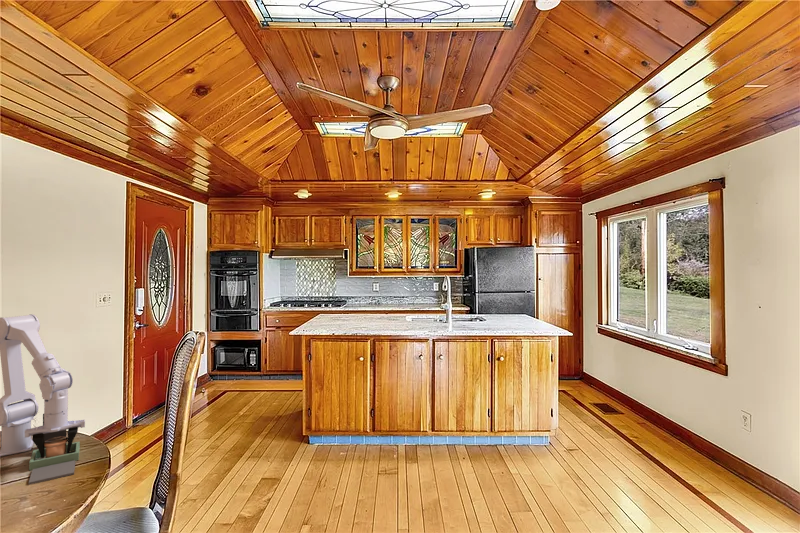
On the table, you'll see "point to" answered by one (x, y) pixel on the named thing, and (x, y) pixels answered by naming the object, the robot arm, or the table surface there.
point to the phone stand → (53, 434)
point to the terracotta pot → (55, 446)
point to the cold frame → (54, 460)
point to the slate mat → (52, 472)
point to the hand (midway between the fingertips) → (55, 454)
